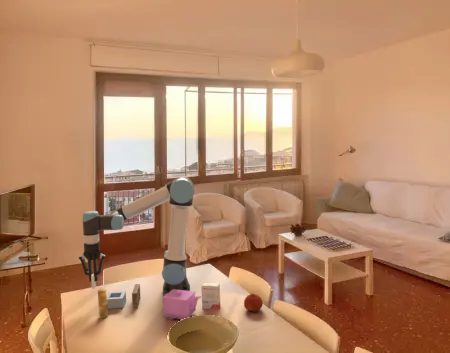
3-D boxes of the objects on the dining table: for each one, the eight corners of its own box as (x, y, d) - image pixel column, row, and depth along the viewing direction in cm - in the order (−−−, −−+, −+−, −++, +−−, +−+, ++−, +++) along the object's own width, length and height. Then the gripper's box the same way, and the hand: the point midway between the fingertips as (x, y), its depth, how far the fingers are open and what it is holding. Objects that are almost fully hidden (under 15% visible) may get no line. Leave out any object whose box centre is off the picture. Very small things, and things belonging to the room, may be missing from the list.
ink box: (220, 305, 187) (220, 282, 185) (218, 309, 182) (218, 286, 181) (204, 304, 188) (203, 281, 187) (201, 308, 183) (201, 285, 182)
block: (126, 300, 195) (125, 290, 195) (123, 307, 186) (122, 298, 186) (108, 301, 194) (108, 292, 194) (105, 309, 185) (104, 299, 185)
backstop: (140, 298, 197) (139, 283, 196) (137, 308, 185) (136, 293, 185) (135, 298, 197) (135, 284, 196) (132, 308, 185) (131, 293, 184)
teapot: (159, 318, 174) (157, 293, 173) (169, 309, 184) (168, 284, 182) (198, 324, 168) (197, 298, 166) (206, 314, 177) (205, 289, 176)
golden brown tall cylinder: (108, 314, 180) (107, 288, 179) (107, 318, 176) (105, 291, 175) (100, 314, 180) (98, 289, 178) (98, 318, 176) (96, 292, 174)
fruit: (242, 313, 177) (241, 297, 177) (247, 305, 186) (247, 290, 185) (259, 316, 174) (259, 299, 174) (264, 307, 183) (264, 292, 182)
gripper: (106, 239, 190) (108, 284, 192) (80, 240, 189) (82, 285, 191) (103, 243, 183) (105, 289, 185) (76, 244, 181) (78, 291, 184)
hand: (93, 287), depth 188 cm, fingers closed
